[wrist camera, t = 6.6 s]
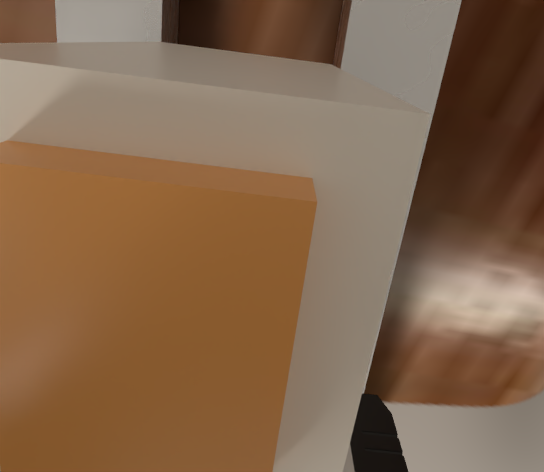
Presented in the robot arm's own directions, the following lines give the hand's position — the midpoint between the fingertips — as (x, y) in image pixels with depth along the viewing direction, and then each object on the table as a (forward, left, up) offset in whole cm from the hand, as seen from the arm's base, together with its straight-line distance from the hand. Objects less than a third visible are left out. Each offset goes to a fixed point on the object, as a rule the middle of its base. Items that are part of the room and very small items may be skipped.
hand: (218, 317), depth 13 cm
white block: (0, 0, -2) cm, 2 cm away
